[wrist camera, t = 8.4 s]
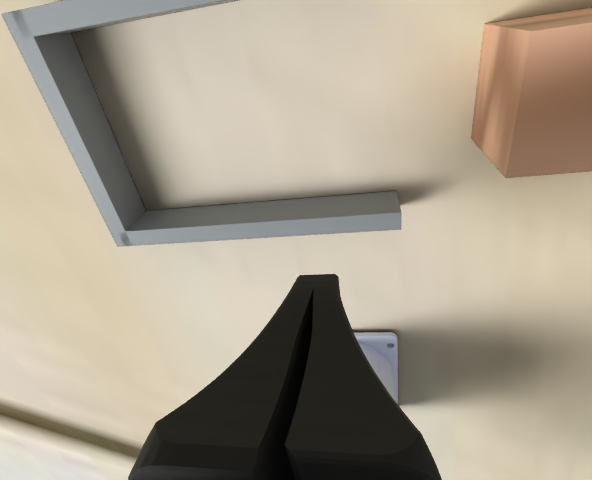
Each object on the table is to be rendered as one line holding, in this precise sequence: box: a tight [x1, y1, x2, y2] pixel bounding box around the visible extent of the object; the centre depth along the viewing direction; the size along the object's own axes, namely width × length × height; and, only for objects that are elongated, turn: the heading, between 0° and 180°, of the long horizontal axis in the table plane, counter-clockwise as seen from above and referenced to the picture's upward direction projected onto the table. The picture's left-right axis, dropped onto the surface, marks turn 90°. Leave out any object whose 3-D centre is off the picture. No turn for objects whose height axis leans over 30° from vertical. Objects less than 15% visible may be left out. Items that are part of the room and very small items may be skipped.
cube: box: [471, 7, 592, 178], centre depth 14 cm, size 5×5×5 cm
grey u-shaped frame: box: [1, 0, 401, 247], centre depth 18 cm, size 12×16×2 cm
